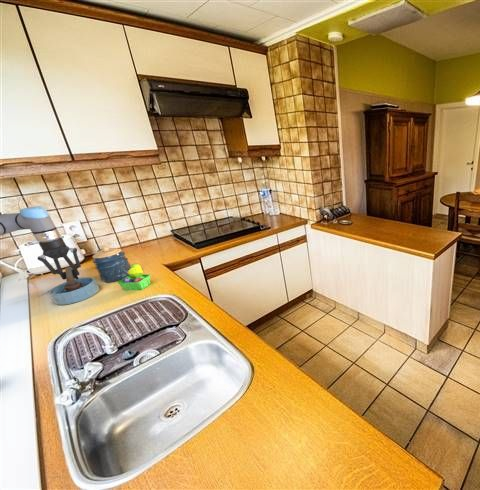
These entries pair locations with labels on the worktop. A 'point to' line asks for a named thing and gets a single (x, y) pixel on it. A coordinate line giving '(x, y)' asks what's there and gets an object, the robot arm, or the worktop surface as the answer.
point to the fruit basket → (135, 279)
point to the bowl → (74, 292)
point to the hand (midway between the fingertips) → (74, 282)
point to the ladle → (71, 281)
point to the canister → (111, 264)
